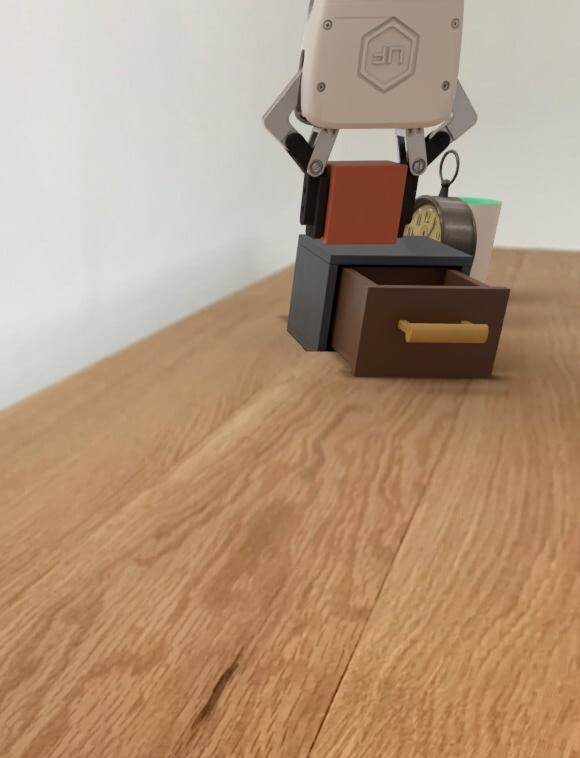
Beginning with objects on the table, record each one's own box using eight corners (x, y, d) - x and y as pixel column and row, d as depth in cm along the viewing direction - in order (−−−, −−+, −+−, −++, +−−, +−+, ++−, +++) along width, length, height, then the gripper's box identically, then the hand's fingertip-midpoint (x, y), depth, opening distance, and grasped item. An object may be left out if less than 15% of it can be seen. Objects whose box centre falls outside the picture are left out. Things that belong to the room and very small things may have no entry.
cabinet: (452, 363, 102) (473, 256, 97) (315, 361, 102) (330, 254, 97) (408, 331, 114) (426, 235, 109) (286, 330, 114) (298, 234, 109)
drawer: (508, 395, 88) (531, 298, 85) (366, 393, 88) (382, 296, 85) (441, 348, 103) (458, 264, 99) (319, 347, 103) (331, 262, 99)
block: (377, 235, 83) (388, 160, 80) (396, 244, 79) (408, 165, 76) (310, 236, 83) (319, 160, 80) (325, 244, 79) (335, 165, 76)
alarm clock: (376, 308, 125) (403, 146, 117) (420, 307, 126) (450, 146, 118) (423, 327, 116) (456, 153, 107) (470, 326, 117) (506, 153, 108)
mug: (371, 296, 132) (387, 199, 127) (384, 286, 138) (400, 193, 133) (477, 305, 128) (497, 205, 122) (485, 294, 134) (505, 199, 128)
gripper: (271, -77, 68) (244, 244, 77) (549, -81, 68) (488, 242, 77) (251, -64, 75) (228, 231, 84) (505, -67, 74) (453, 229, 84)
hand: (353, 233), depth 80 cm, fingers closed on block, 5 cm apart
